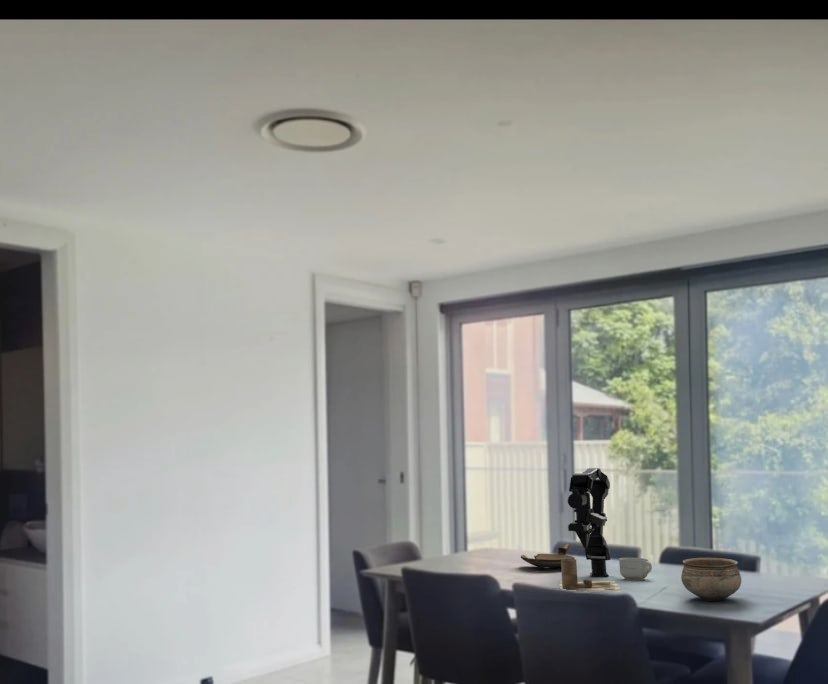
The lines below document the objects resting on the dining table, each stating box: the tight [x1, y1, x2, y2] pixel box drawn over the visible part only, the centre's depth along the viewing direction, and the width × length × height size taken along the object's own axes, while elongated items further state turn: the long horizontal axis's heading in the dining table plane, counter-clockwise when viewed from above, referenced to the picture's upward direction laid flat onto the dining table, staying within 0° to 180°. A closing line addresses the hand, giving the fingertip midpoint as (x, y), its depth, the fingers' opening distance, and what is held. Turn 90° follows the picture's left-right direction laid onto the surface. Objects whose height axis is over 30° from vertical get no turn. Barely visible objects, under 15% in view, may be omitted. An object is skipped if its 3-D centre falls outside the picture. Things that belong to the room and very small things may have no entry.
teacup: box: [618, 557, 653, 581], centre depth 308 cm, size 14×11×8 cm
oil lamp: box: [520, 543, 575, 569], centre depth 346 cm, size 22×30×8 cm
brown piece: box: [560, 559, 610, 589], centre depth 292 cm, size 18×3×10 cm, turn 101°
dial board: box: [558, 580, 624, 593], centre depth 293 cm, size 20×21×1 cm
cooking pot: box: [680, 557, 742, 602], centre depth 269 cm, size 25×19×12 cm
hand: (585, 547), depth 307 cm, fingers closed
